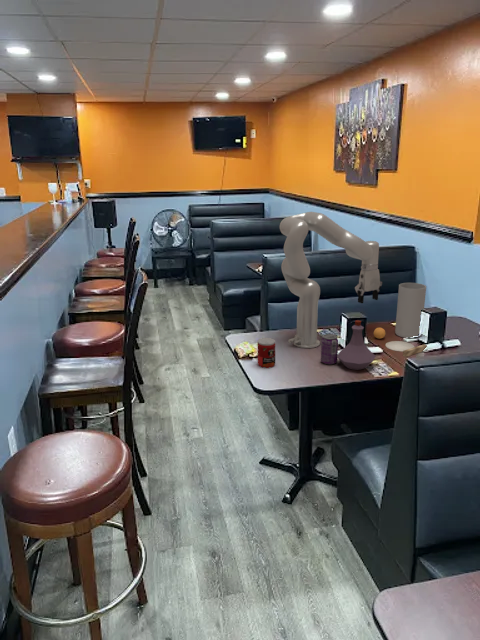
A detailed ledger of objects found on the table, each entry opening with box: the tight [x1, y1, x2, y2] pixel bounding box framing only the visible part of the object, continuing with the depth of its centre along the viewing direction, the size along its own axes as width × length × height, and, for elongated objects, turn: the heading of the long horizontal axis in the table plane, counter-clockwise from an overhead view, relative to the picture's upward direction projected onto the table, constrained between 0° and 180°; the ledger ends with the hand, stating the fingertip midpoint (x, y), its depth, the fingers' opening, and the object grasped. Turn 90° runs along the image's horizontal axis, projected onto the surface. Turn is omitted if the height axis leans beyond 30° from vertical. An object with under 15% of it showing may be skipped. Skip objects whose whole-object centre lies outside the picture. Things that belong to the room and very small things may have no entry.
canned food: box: [257, 337, 276, 369], centre depth 214 cm, size 8×8×11 cm
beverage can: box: [320, 333, 339, 365], centre depth 215 cm, size 7×7×12 cm
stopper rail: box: [402, 343, 428, 358], centre depth 225 cm, size 14×2×2 cm, turn 121°
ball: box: [373, 327, 386, 340], centre depth 243 cm, size 6×6×6 cm
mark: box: [385, 340, 415, 353], centre depth 234 cm, size 13×13×1 cm
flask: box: [337, 319, 376, 371], centre depth 210 cm, size 16×16×20 cm
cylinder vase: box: [394, 282, 427, 339], centre depth 245 cm, size 12×12×25 cm
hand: (367, 301), depth 246 cm, fingers open, 9 cm apart
